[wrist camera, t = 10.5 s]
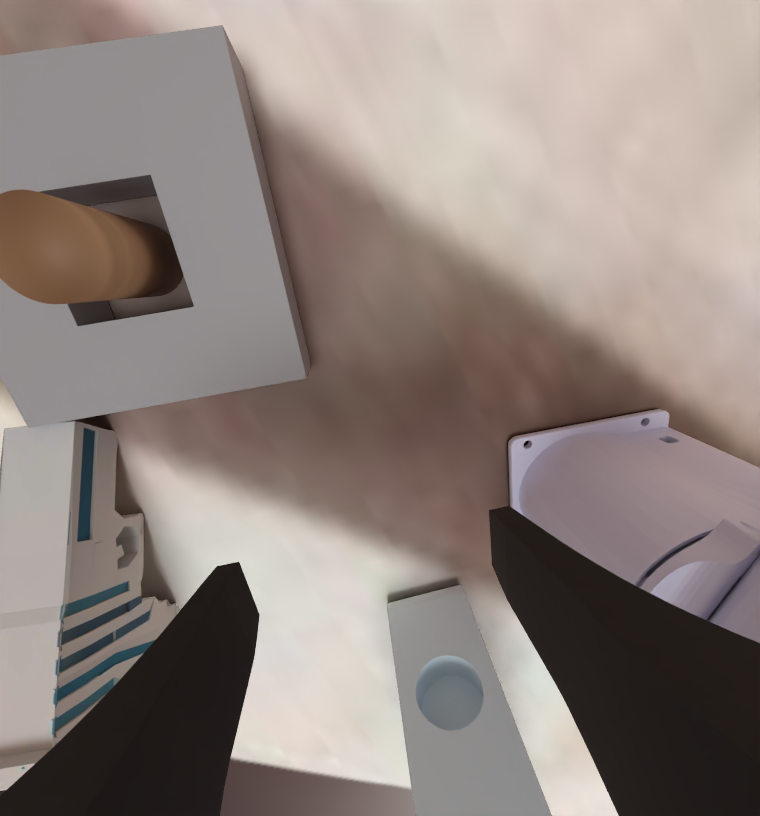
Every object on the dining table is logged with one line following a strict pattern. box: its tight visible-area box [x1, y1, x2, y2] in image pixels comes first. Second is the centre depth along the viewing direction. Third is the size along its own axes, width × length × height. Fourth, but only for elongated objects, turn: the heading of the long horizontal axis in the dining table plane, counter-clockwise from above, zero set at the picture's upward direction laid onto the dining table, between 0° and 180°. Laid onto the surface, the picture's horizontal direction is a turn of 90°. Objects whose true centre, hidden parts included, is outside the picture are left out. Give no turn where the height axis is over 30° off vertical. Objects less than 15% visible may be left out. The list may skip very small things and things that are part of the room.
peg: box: [0, 189, 183, 304], centre depth 13 cm, size 3×3×6 cm
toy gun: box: [0, 421, 180, 791], centre depth 18 cm, size 3×14×10 cm
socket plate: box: [0, 25, 311, 428], centre depth 15 cm, size 12×12×2 cm
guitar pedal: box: [387, 585, 552, 816], centre depth 22 cm, size 23×6×13 cm, turn 12°
